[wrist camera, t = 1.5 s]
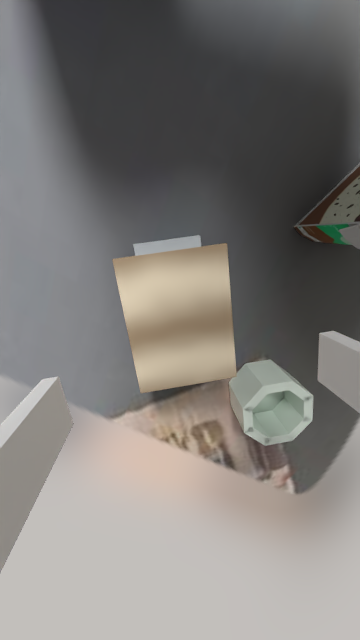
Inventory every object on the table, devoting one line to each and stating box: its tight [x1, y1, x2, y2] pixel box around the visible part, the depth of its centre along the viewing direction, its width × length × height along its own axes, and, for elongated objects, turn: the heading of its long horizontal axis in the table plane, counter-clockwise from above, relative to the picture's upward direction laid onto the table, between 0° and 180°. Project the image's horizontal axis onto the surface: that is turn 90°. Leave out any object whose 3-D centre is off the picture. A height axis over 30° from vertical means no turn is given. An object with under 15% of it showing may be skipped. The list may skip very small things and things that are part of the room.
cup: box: [229, 359, 313, 446], centre depth 27 cm, size 8×8×5 cm
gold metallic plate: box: [112, 243, 237, 393], centre depth 21 cm, size 12×9×3 cm
